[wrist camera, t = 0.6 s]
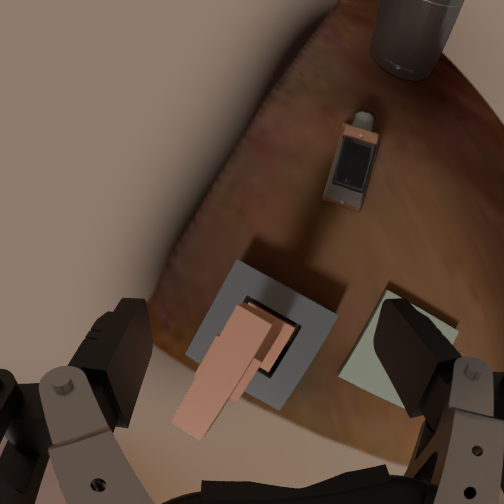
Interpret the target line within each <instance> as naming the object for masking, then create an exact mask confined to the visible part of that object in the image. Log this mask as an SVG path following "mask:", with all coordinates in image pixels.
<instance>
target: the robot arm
mask: <svg viewBox="0 0 504 504" xmlns="http://www.w3.org/2000/svg"><path fill="white" fill-rule="evenodd" d="M463 2H464V0H379V3H378V9H377V15H376V21H375V27H374V32H373V38H372V43H371V53H372V55H373V58H374V59H375V60H376V62H377V63H378V64H379V65H380V66H381V67H382V68H383V69H385V70H386V71H387V72H389V73H391V74H393V75H394V76H397V77H399V78H402V79H406V80H414V81H416V80H422V79H426V78H427V77H429V76H430V75H431V73H432V72H433V69H434V67H435V65H436V63H437V61H438V59H439V57H440V55H441V53H442V51H443V49H444V46H445V44H446V42H447V40H448V38H449V35H450V33H451V31H452V29H453V26H454V24H455V22H456V19H457V17H458V14H459V12H460V10H461V7H462V5H463ZM373 345H374V350H375V353H376V355H377V357H378V359H379V360H380V362H381V364H382V366H383V368H384V369H385V371H386V373H387V375H388V377H389V379H390V381H391V382H392V384H393V386H394V388H395V390H396V392H397V394H398V396H399V398H400V400H401V401H402V403H403V405H404V407H405V409H406V411H407V413H408V415H409V417H410V418H413V417H417V416H421V415H424V417H425V420H424V422H423V423H422V426H421V429H420V432H419V436H418V439H417V442H416V445H415V448H414V452H413V455H412V457H411V460H410V463H409V466H408V468H407V470H406V472H405V474H404V476H399V475H389V473H388V470H387V467H386V465H385V464H384V465H380V466H376V467H371V468H367V469H361V470H357V471H351V472H345V473H343V474H340V475H338V476H335V477H333V478H330V479H327V480H325V481H322V482H320V483H316V484H314V485H311V486H308V487H305V488H299V489H297V488H288V487H280V486H274V485H267V484H261V483H255V482H250V481H247V482H246V481H244V482H236V481H204V480H202V484H201V491H200V492H194V493H189V494H185V495H182V496H179V497H176V498H173V499H171V500H169V501H166V502H164V503H162V504H498V499H499V492H500V486H501V488H502V490H503V493H504V372H492V370H491V369H490V367H489V366H488V365H487V364H486V363H485V362H483V361H482V360H480V359H478V358H475V357H470V356H464V357H462V356H461V355H460V353H459V352H458V351H457V350H456V349H455V347H454V346H453V345H452V344H451V343H450V341H449V340H448V339H447V338H446V337H445V336H444V335H442V332H441V331H440V330H439V329H438V328H436V325H435V324H434V323H433V322H432V321H431V319H430V318H429V317H427V316H425V315H424V314H422V313H421V312H419V311H417V310H416V309H415V308H414V306H413V305H412V304H411V303H410V302H409V301H408V300H407V299H406V298H393V299H385V300H384V301H383V303H382V307H381V311H380V315H379V319H378V322H377V326H376V330H375V334H374V339H373ZM152 348H153V340H152V333H151V327H150V321H149V315H148V308H147V303H146V301H145V299H139V298H122V299H121V300H120V302H119V304H118V305H117V307H116V308H115V310H114V312H109V311H108V312H106V313H105V314H104V315H102V316H101V317H100V318H98V319H97V320H96V322H95V323H94V325H93V326H92V328H91V331H89V332H88V334H87V335H86V339H84V340H83V342H82V343H81V345H80V346H79V348H78V350H77V351H76V353H75V354H74V356H73V358H72V359H71V361H70V363H69V364H68V366H61V367H57V368H54V369H52V370H50V371H49V372H47V373H46V374H45V375H44V376H43V377H42V379H41V381H40V383H34V384H18V383H17V381H16V380H15V378H14V376H13V374H12V373H11V372H10V371H8V370H5V369H0V443H1V441H2V439H3V437H4V435H5V436H6V438H7V439H8V441H7V443H6V446H5V448H4V450H3V452H2V454H1V457H0V504H35V500H36V498H37V494H38V491H39V488H40V484H41V481H42V478H43V475H44V471H45V469H46V466H47V463H48V460H49V457H50V459H51V462H52V465H53V468H54V471H55V474H56V477H57V479H58V482H59V485H60V488H61V490H62V493H63V495H64V498H65V500H66V503H67V504H154V502H153V501H152V499H151V498H150V496H149V495H148V493H147V492H146V490H145V489H144V487H143V485H142V484H141V482H140V481H139V479H138V478H137V476H136V475H135V473H134V471H133V469H132V468H131V466H130V464H129V463H128V461H127V459H126V457H125V456H124V454H123V452H122V450H121V448H120V447H119V445H118V443H117V441H116V439H115V437H114V435H113V432H114V429H115V426H116V427H123V428H128V426H129V423H130V420H131V416H132V413H133V410H134V407H135V404H136V400H137V397H138V394H139V391H140V388H141V385H142V381H143V379H144V376H145V373H146V370H147V367H148V364H149V361H150V358H151V354H152Z"/></svg>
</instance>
